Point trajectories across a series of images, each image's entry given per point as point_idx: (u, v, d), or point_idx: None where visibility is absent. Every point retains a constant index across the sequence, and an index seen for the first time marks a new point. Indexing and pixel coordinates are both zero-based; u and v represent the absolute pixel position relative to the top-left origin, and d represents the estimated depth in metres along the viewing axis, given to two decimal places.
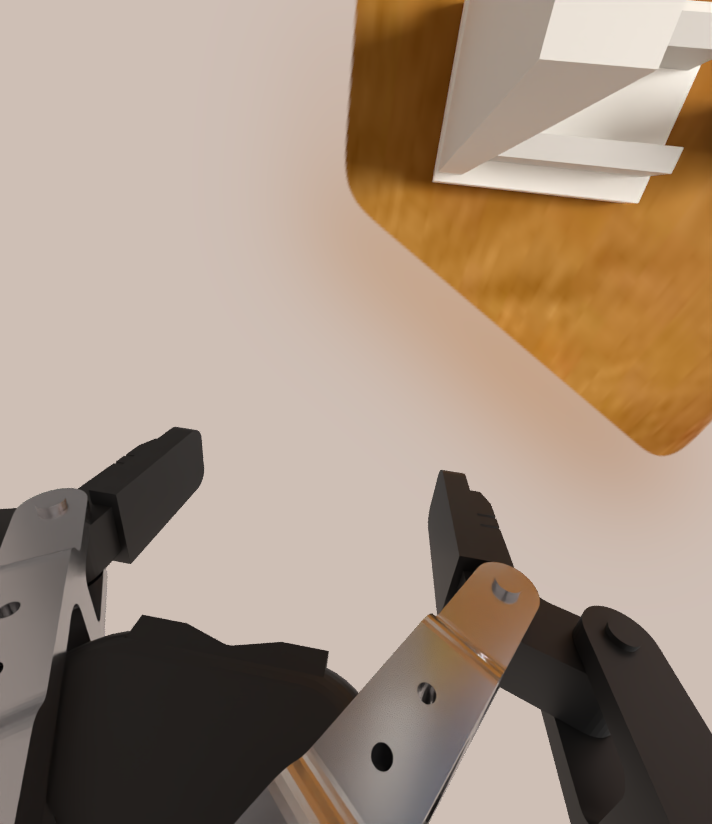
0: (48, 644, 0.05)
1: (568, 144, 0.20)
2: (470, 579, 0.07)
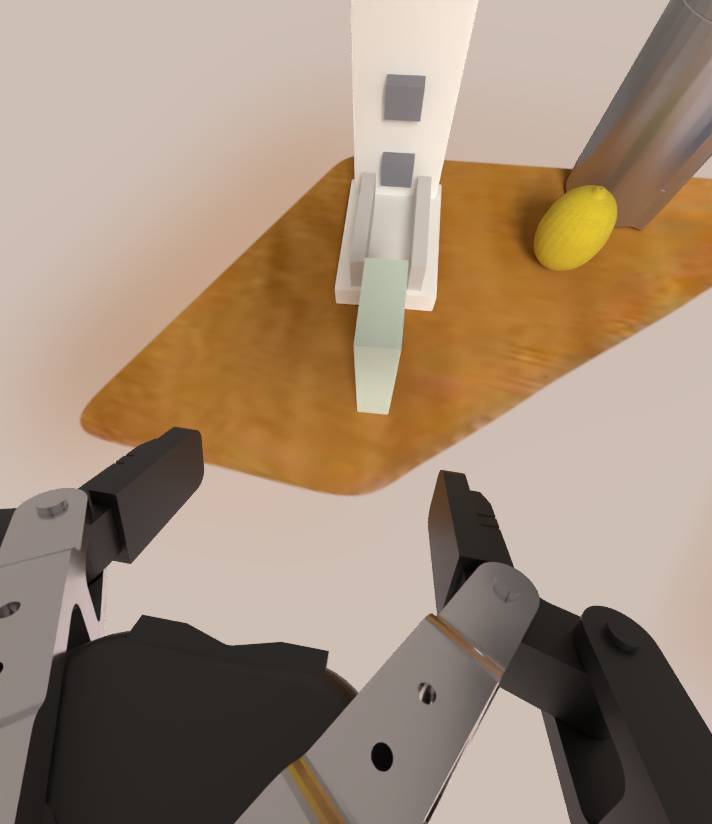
0: (48, 644, 0.05)
1: (367, 206, 0.30)
2: (470, 579, 0.07)
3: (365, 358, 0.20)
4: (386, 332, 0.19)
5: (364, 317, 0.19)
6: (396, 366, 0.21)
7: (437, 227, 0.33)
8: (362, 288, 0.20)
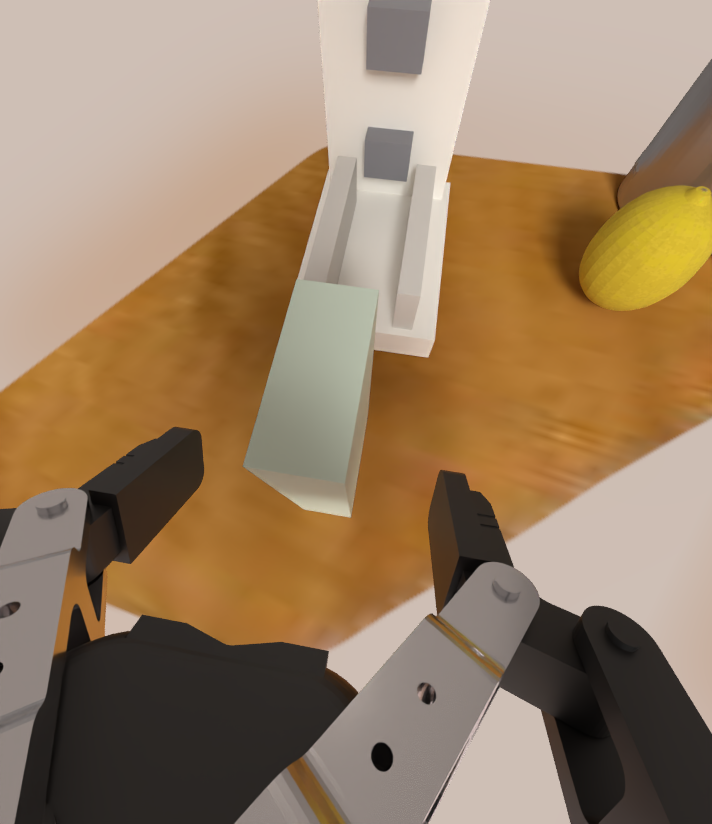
0: (48, 644, 0.05)
1: (339, 201, 0.20)
2: (470, 579, 0.07)
3: (280, 480, 0.10)
4: (317, 439, 0.09)
5: (275, 403, 0.09)
6: (343, 494, 0.10)
7: (441, 239, 0.23)
8: (282, 340, 0.10)
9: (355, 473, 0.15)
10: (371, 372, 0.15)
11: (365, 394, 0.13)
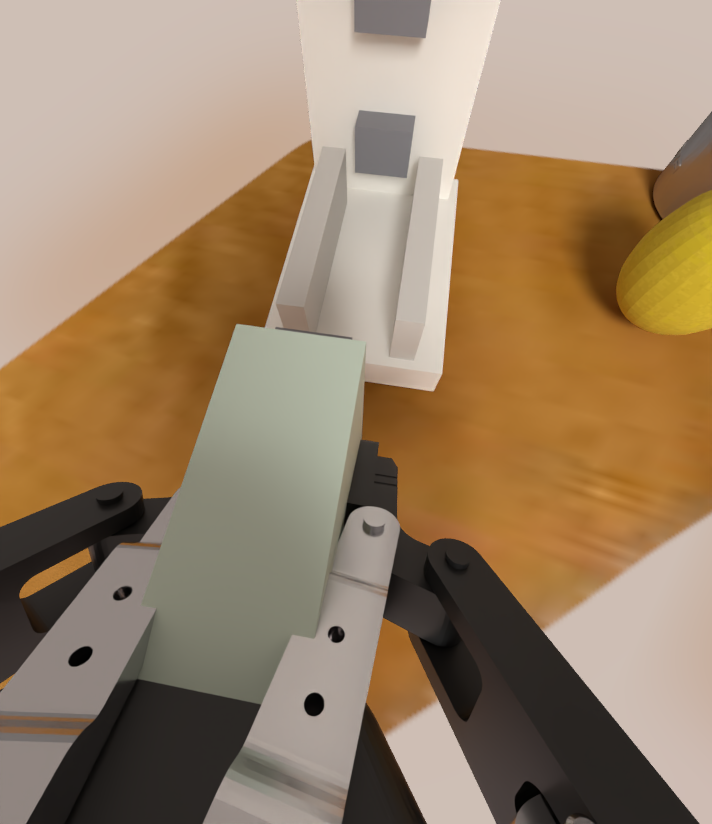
0: (129, 649, 0.05)
1: (323, 202, 0.16)
2: (345, 528, 0.08)
3: None
4: (253, 629, 0.05)
5: (184, 551, 0.05)
6: None
7: (449, 247, 0.19)
8: (205, 430, 0.06)
9: None
10: (361, 431, 0.12)
11: (350, 481, 0.09)
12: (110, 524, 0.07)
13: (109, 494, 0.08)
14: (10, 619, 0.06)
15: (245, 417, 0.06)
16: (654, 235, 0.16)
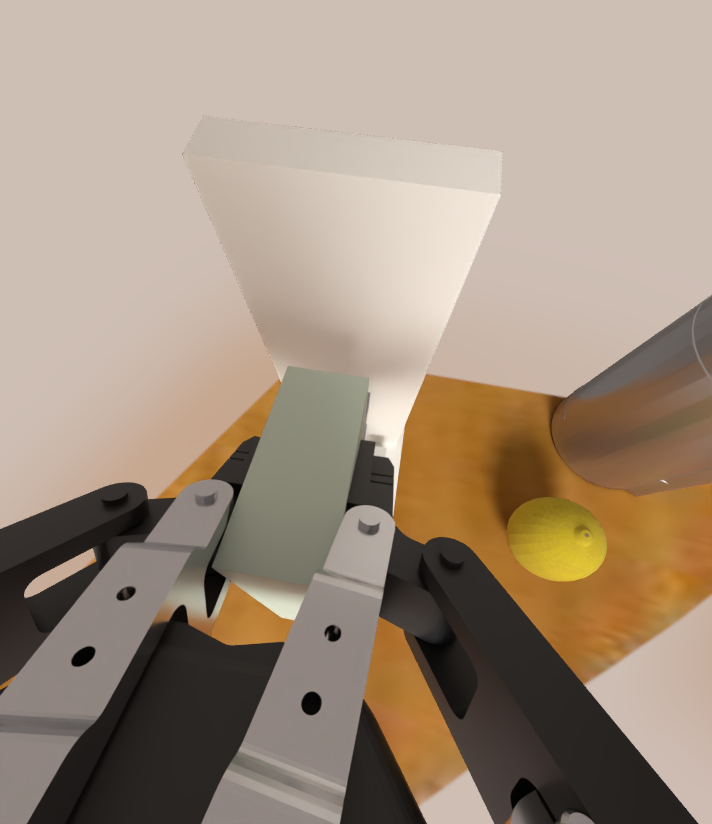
0: (132, 649, 0.05)
1: None
2: (340, 528, 0.08)
3: (255, 584, 0.09)
4: (300, 534, 0.08)
5: (256, 491, 0.09)
6: None
7: (393, 491, 0.27)
8: (268, 424, 0.10)
9: None
10: None
11: None
12: (115, 525, 0.07)
13: (113, 495, 0.08)
14: (14, 619, 0.06)
15: (294, 417, 0.10)
16: (520, 521, 0.24)
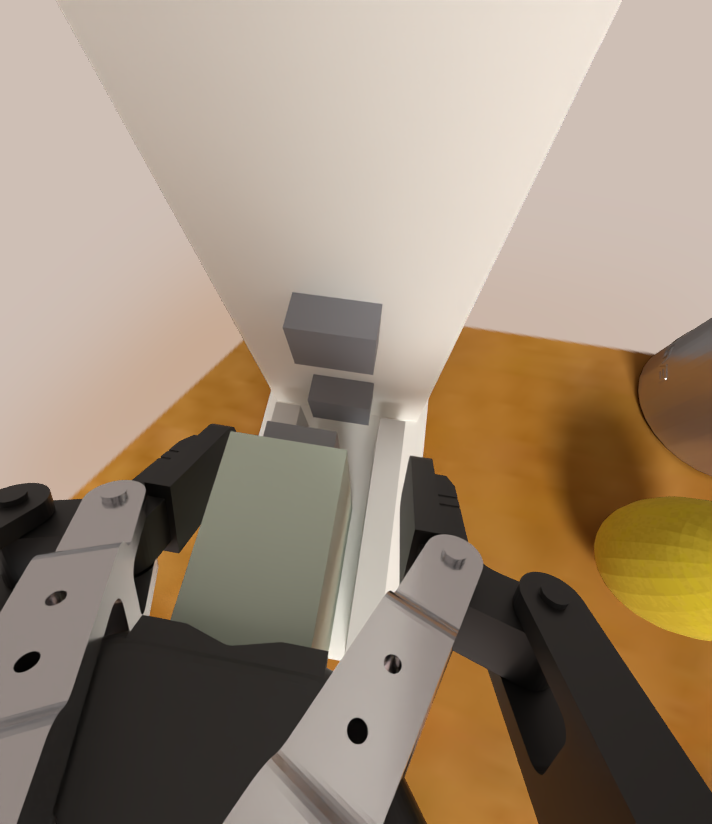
0: (82, 641, 0.05)
1: None
2: (421, 553, 0.07)
3: None
4: None
5: None
6: None
7: None
8: (200, 538, 0.07)
9: (328, 628, 0.12)
10: (349, 493, 0.12)
11: (335, 558, 0.09)
12: (8, 527, 0.07)
13: (11, 495, 0.07)
14: None
15: (237, 525, 0.07)
16: (631, 537, 0.14)
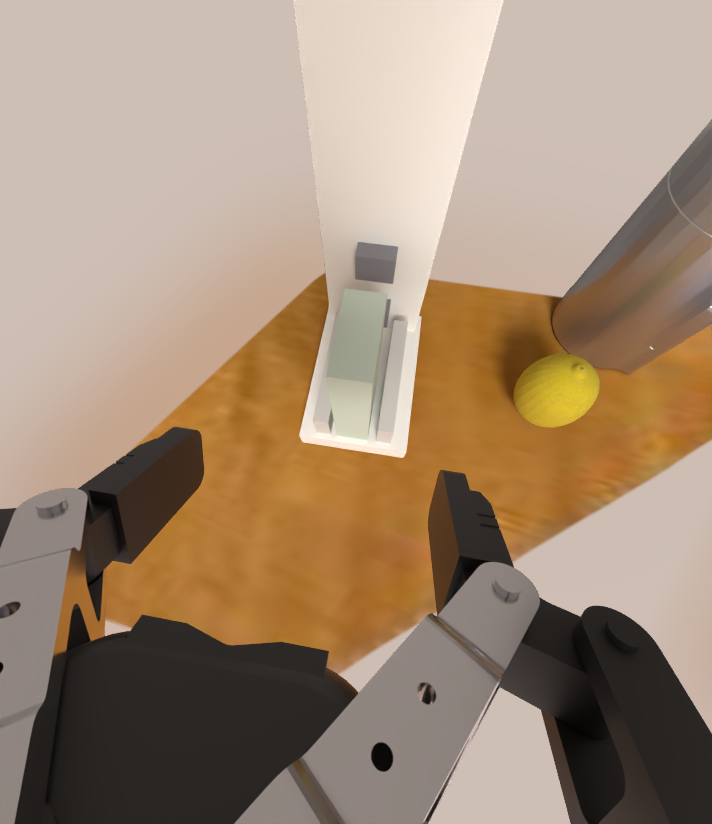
0: (48, 644, 0.05)
1: None
2: (470, 579, 0.07)
3: (339, 389, 0.20)
4: (359, 365, 0.19)
5: (338, 348, 0.19)
6: (370, 398, 0.21)
7: (413, 367, 0.31)
8: (339, 319, 0.20)
9: (372, 403, 0.25)
10: (381, 342, 0.26)
11: (379, 351, 0.23)
12: None
13: None
14: None
15: (351, 315, 0.20)
16: (525, 375, 0.28)
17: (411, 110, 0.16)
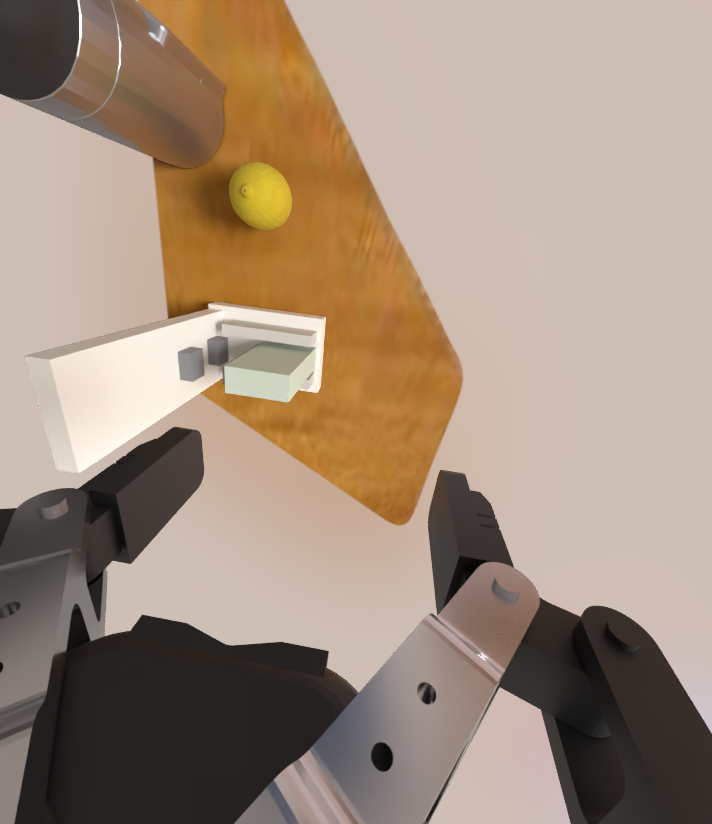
0: (48, 644, 0.05)
1: None
2: (470, 579, 0.07)
3: (293, 390, 0.33)
4: (278, 383, 0.31)
5: (269, 395, 0.32)
6: (295, 369, 0.33)
7: (254, 311, 0.40)
8: (248, 395, 0.32)
9: (292, 355, 0.37)
10: (248, 352, 0.36)
11: (260, 360, 0.34)
12: None
13: None
14: None
15: (244, 388, 0.32)
16: (252, 226, 0.34)
17: (114, 381, 0.26)
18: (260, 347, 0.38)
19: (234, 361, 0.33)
